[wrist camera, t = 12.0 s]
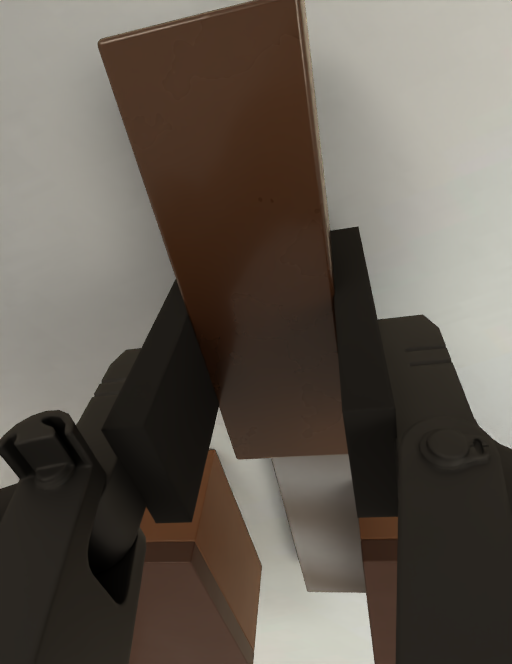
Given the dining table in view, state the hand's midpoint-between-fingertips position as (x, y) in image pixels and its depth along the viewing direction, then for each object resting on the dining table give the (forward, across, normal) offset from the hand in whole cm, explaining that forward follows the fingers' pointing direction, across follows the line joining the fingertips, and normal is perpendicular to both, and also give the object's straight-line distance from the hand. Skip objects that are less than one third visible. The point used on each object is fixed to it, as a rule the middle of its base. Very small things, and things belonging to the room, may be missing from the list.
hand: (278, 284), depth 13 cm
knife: (0, 0, -5) cm, 5 cm away
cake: (+2, -8, -14) cm, 16 cm away
